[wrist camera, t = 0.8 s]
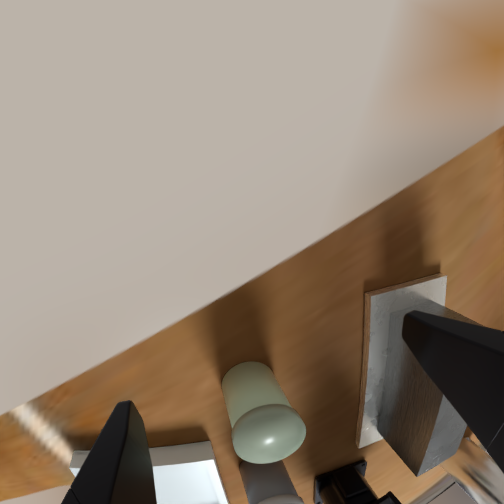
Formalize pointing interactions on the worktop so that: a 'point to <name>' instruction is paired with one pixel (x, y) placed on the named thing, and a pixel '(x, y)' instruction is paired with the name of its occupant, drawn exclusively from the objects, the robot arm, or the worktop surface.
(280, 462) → the grey cup
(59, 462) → the worktop surface
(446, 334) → the robot arm
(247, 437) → the cylinder
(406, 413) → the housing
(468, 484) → the silver metal cylinder
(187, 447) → the tray
